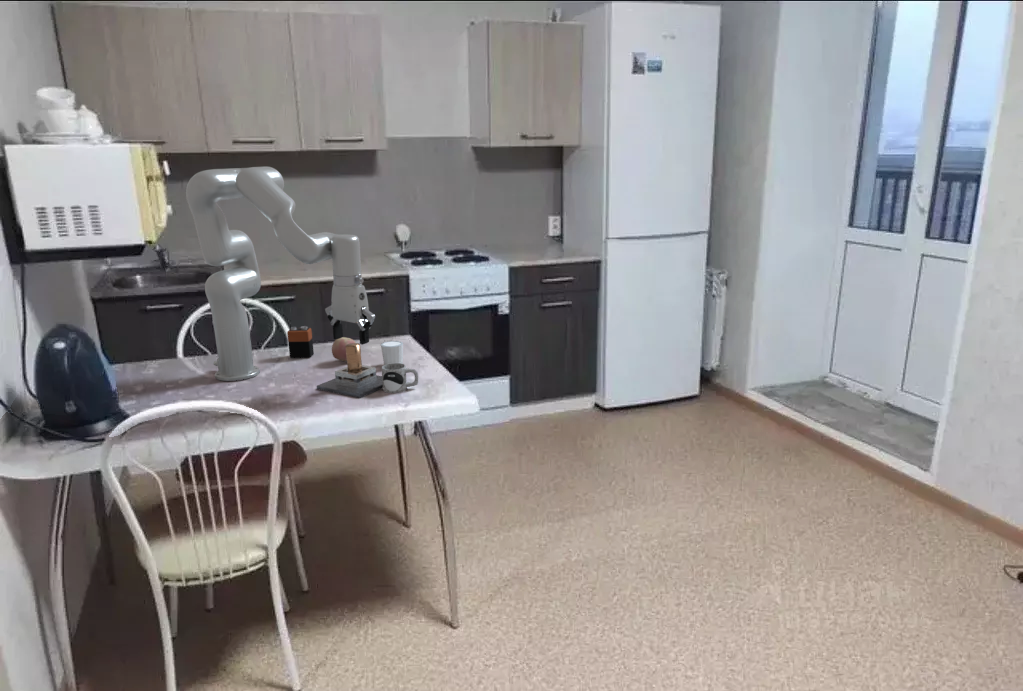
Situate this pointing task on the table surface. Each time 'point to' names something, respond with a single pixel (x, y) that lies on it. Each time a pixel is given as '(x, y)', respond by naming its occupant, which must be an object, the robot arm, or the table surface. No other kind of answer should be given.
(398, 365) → the mug
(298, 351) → the battery
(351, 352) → the tube
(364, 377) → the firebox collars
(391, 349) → the shot glass
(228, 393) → the table surface
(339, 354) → the apple
